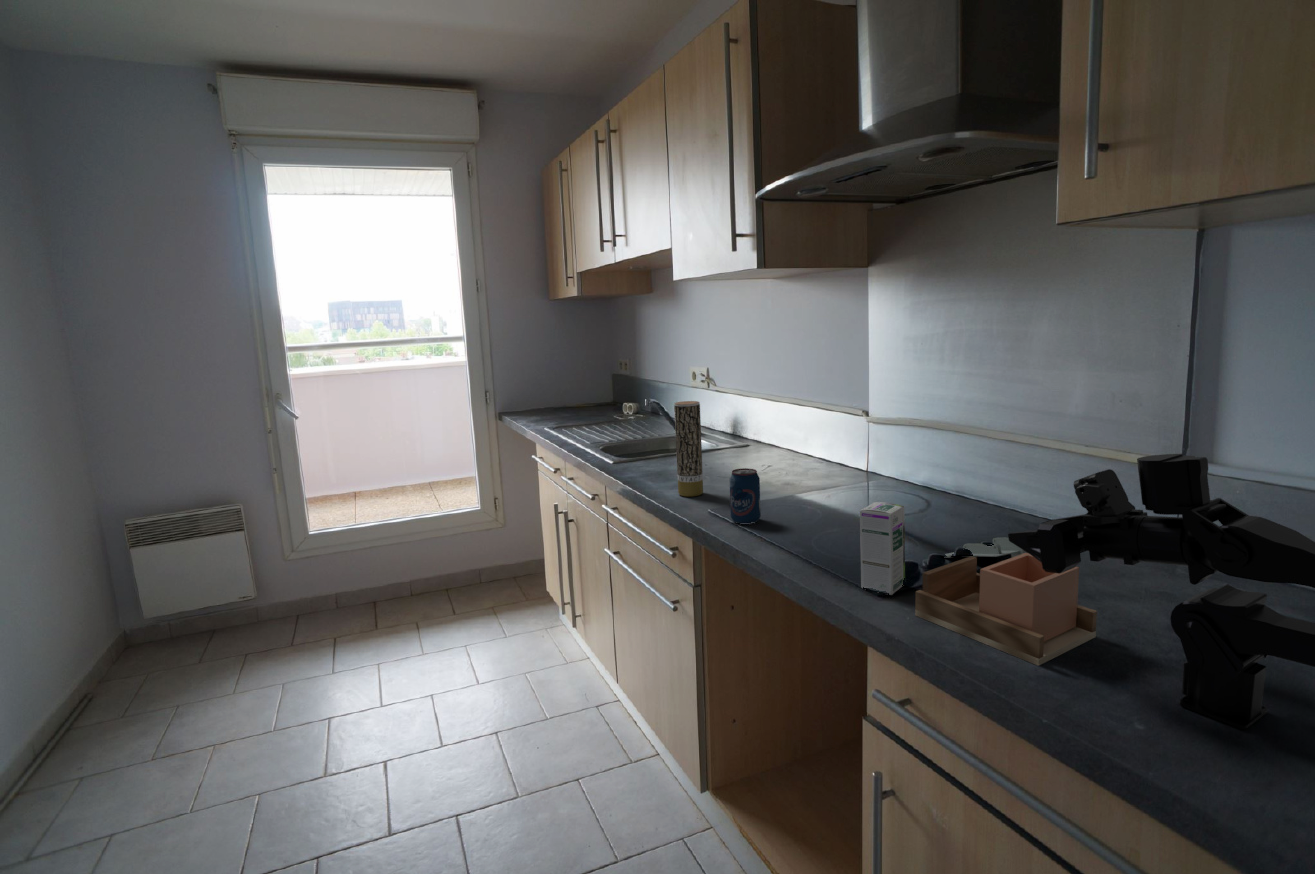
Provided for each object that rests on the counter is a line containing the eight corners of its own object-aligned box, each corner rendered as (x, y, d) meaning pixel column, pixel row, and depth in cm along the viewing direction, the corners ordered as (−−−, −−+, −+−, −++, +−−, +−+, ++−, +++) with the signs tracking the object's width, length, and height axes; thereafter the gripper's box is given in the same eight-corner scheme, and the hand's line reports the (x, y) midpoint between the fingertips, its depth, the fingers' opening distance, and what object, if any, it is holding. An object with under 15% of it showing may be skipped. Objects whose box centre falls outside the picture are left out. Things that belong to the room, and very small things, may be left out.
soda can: (729, 525, 163) (727, 474, 161) (732, 516, 170) (731, 467, 168) (759, 525, 162) (758, 474, 159) (761, 517, 168) (760, 467, 166)
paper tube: (679, 491, 196) (675, 401, 192) (703, 490, 195) (700, 400, 191) (677, 497, 189) (673, 404, 185) (702, 497, 189) (699, 404, 184)
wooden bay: (1095, 637, 102) (1098, 591, 101) (1038, 665, 95) (1040, 616, 94) (971, 593, 119) (972, 554, 118) (915, 615, 112) (915, 573, 111)
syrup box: (892, 596, 120) (893, 513, 117) (859, 588, 123) (859, 508, 121) (905, 585, 124) (906, 504, 121) (873, 578, 128) (873, 500, 125)
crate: (1075, 626, 103) (1079, 567, 101) (1031, 648, 97) (1033, 585, 96) (1023, 608, 109) (1025, 552, 108) (978, 627, 104) (980, 569, 102)
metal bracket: (1052, 534, 130) (989, 547, 125) (1059, 566, 129) (995, 580, 124) (992, 535, 143) (933, 546, 138) (997, 563, 143) (938, 576, 138)
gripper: (1178, 463, 92) (1058, 464, 106) (1100, 487, 83) (980, 485, 96) (1188, 547, 92) (1068, 538, 106) (1111, 581, 83) (990, 566, 96)
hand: (1028, 530), depth 101 cm, fingers open, 9 cm apart
